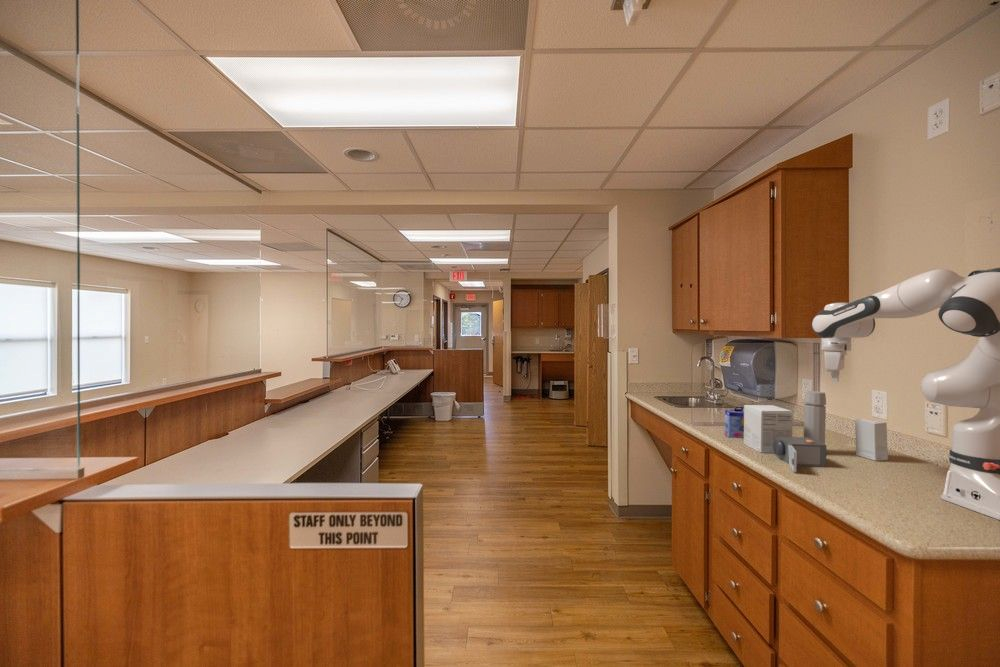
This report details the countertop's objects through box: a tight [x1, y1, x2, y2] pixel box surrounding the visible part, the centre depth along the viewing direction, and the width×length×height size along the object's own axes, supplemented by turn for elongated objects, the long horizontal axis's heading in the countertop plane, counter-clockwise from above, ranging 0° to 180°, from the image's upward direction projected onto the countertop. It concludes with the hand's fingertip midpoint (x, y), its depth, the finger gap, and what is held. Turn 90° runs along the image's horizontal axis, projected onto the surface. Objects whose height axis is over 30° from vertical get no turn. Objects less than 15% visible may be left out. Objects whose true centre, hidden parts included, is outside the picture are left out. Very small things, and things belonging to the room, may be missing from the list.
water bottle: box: [802, 390, 827, 445], centre depth 176 cm, size 9×8×25 cm
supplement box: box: [743, 404, 794, 454], centre depth 180 cm, size 13×13×18 cm
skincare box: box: [854, 418, 889, 462], centre depth 169 cm, size 8×6×15 cm
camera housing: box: [773, 436, 827, 467], centre depth 164 cm, size 11×14×9 cm
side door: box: [787, 444, 798, 473], centre depth 155 cm, size 1×11×7 cm, turn 154°
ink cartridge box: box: [724, 406, 744, 439], centre depth 200 cm, size 10×6×14 cm, turn 85°
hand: (835, 382), depth 160 cm, fingers closed
